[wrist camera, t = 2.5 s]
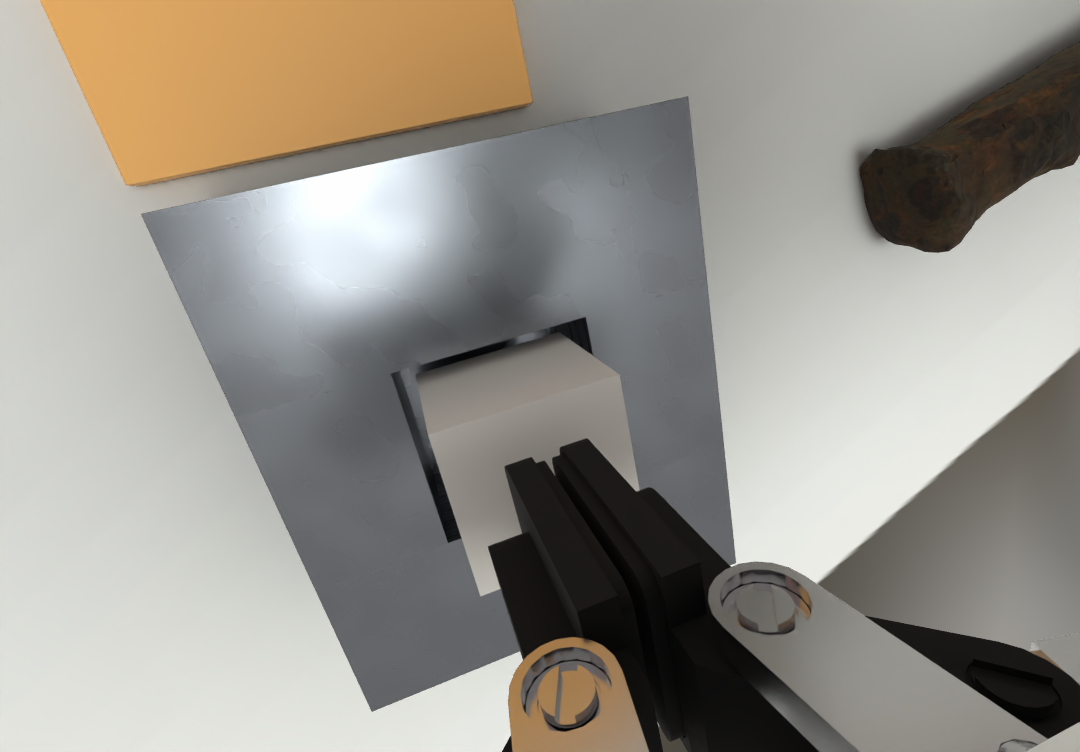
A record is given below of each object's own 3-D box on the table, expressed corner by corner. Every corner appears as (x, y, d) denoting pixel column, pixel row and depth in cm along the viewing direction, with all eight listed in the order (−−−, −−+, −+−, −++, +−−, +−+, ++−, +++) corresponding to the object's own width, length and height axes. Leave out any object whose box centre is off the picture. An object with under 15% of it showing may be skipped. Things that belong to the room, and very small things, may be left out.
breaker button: (559, 331, 15) (619, 374, 11) (585, 457, 16) (646, 533, 12) (414, 374, 14) (428, 434, 10) (456, 502, 15) (480, 596, 12)
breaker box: (606, 125, 17) (688, 96, 13) (662, 489, 22) (736, 562, 18) (213, 211, 15) (141, 213, 10) (373, 595, 20) (372, 711, 15)
